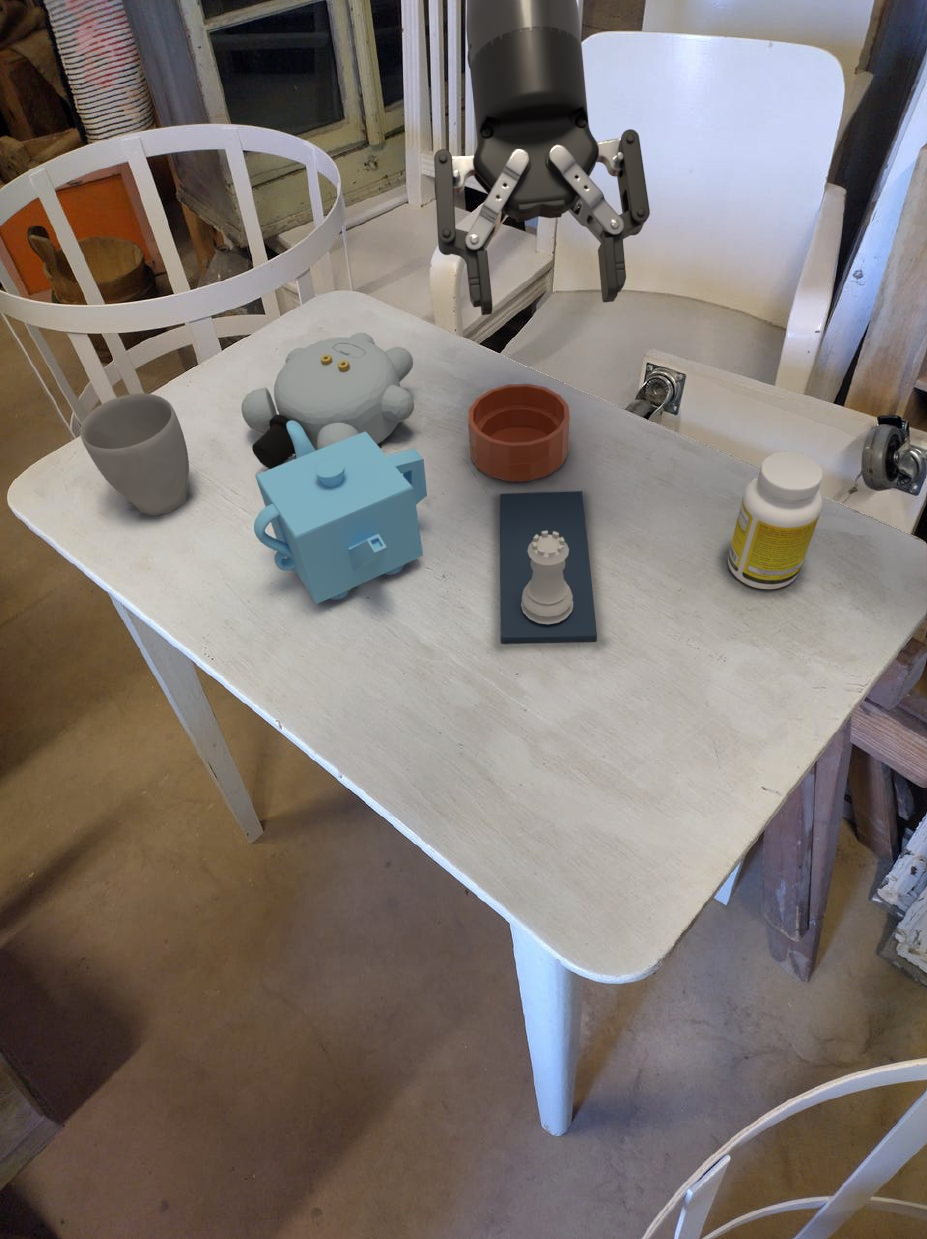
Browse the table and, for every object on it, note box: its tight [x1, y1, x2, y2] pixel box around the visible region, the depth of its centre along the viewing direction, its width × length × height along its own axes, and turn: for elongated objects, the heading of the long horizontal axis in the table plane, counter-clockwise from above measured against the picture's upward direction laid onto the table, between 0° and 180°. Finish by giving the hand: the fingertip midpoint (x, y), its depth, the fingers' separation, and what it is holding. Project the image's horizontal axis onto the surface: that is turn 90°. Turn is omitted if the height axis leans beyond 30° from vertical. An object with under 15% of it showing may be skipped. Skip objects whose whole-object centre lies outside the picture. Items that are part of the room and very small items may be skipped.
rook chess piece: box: [521, 530, 573, 625], centre depth 67 cm, size 4×4×8 cm
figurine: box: [240, 332, 415, 470], centre depth 86 cm, size 17×8×20 cm
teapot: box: [253, 421, 428, 605], centre depth 72 cm, size 16×18×11 cm
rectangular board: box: [499, 490, 598, 644], centre depth 74 cm, size 18×8×1 cm, turn 179°
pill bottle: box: [727, 451, 824, 590], centre depth 68 cm, size 6×6×11 cm
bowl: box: [467, 383, 571, 483], centre depth 83 cm, size 10×10×5 cm
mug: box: [79, 393, 190, 516], centre depth 81 cm, size 12×9×10 cm
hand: (549, 305), depth 56 cm, fingers open, 8 cm apart
